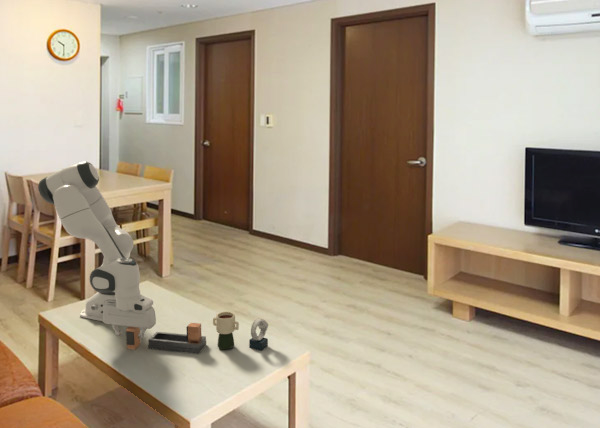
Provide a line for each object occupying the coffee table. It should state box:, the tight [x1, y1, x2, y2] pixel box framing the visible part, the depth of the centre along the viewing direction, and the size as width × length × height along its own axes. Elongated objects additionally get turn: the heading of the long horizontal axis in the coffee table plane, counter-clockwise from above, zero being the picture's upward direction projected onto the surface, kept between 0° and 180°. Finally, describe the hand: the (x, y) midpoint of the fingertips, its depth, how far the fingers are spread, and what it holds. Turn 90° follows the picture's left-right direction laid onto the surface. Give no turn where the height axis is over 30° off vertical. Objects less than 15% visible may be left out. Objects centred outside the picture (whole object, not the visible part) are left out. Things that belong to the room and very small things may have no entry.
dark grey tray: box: [147, 322, 207, 355], centre depth 192 cm, size 20×8×10 cm, turn 80°
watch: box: [248, 318, 269, 351], centre depth 193 cm, size 6×8×11 cm
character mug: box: [212, 311, 240, 350], centre depth 192 cm, size 11×7×13 cm, turn 68°
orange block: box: [125, 326, 141, 350], centre depth 192 cm, size 5×3×8 cm
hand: (129, 336), depth 191 cm, fingers open, 8 cm apart
